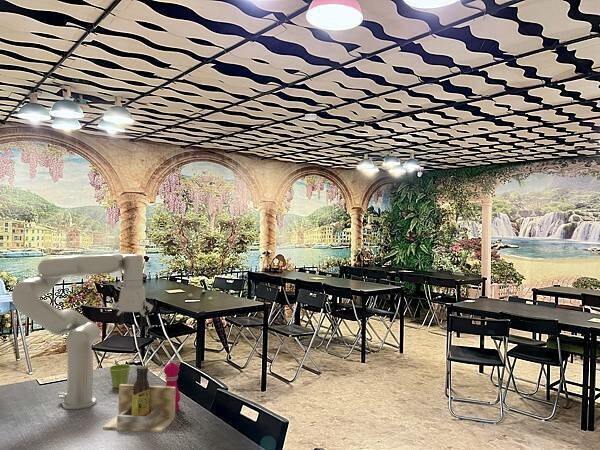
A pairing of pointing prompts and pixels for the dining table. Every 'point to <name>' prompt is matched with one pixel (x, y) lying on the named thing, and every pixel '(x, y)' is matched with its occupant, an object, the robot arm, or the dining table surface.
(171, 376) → the pepper mill
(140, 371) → the sauce bottle
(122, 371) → the plant pot
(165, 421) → the condiment rack
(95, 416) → the dining table surface
